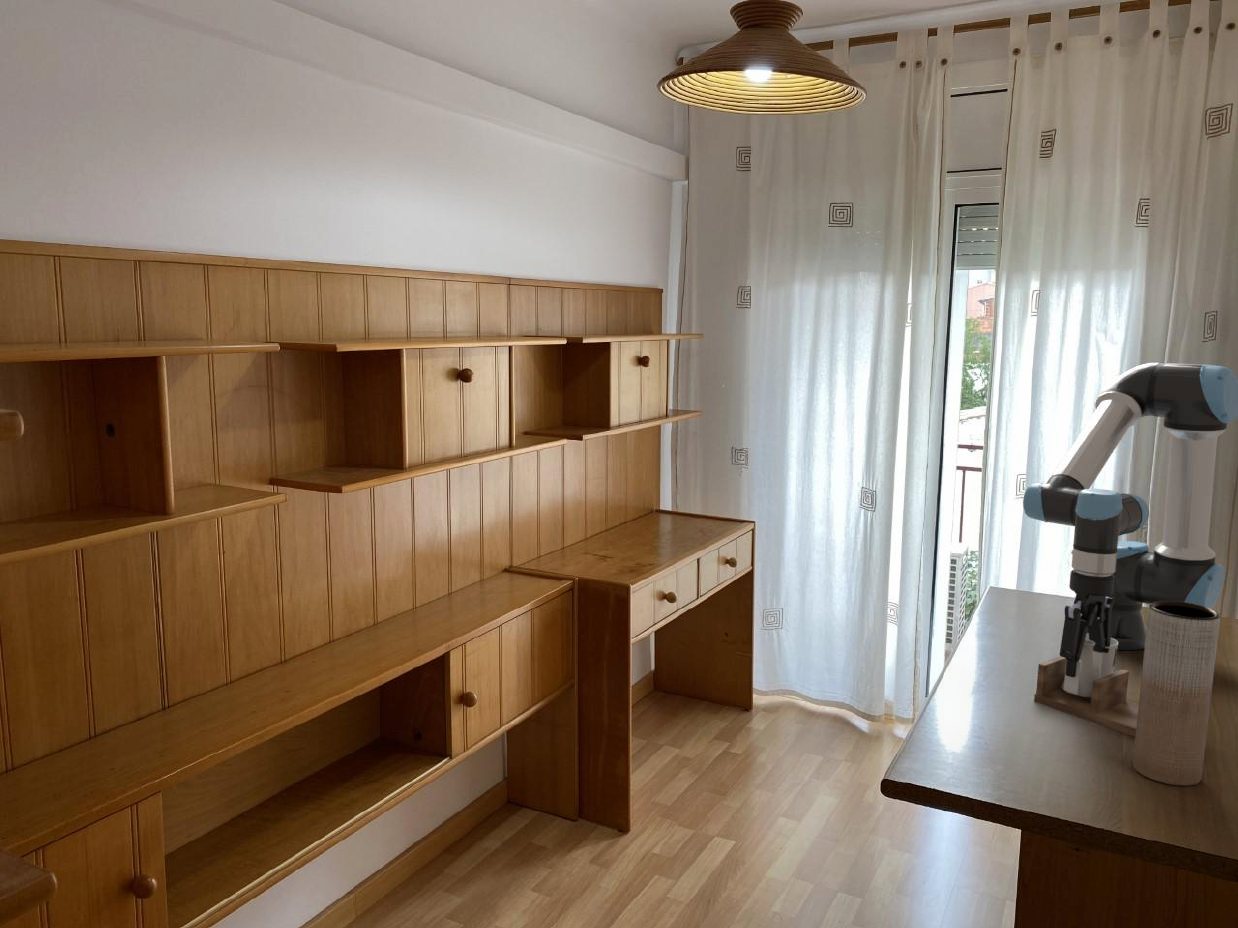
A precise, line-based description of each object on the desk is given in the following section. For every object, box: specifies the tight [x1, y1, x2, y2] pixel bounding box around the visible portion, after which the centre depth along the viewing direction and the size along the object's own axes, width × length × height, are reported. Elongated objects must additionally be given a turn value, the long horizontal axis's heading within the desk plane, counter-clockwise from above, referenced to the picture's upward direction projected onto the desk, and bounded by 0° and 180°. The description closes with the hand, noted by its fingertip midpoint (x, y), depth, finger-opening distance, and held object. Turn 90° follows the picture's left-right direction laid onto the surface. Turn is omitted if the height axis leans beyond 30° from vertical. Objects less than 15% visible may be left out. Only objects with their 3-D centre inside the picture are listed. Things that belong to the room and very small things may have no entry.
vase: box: [1132, 601, 1221, 787], centre depth 158 cm, size 10×10×28 cm
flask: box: [1061, 639, 1098, 697], centre depth 187 cm, size 7×7×10 cm
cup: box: [1085, 633, 1118, 678], centre depth 197 cm, size 8×8×10 cm
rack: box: [1033, 655, 1139, 738], centre depth 184 cm, size 12×23×8 cm, turn 36°
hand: (1081, 687), depth 188 cm, fingers closed on flask, 7 cm apart
